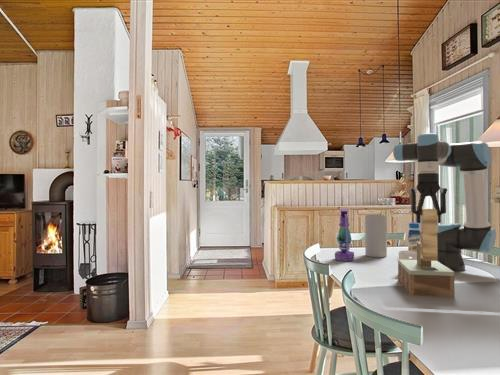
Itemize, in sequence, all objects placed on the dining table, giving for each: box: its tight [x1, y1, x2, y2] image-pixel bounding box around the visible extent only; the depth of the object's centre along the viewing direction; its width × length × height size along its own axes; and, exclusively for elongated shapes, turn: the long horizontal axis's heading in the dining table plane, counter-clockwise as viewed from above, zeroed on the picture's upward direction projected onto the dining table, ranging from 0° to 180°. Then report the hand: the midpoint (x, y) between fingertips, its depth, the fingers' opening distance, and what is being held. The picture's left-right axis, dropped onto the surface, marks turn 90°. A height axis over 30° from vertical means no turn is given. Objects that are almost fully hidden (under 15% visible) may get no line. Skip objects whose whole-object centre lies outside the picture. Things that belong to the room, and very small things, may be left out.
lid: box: [397, 242, 455, 277], centre depth 155 cm, size 22×16×10 cm
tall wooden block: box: [420, 208, 438, 261], centre depth 149 cm, size 5×5×20 cm
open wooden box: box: [397, 262, 455, 298], centre depth 155 cm, size 22×16×9 cm
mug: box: [398, 250, 417, 260], centre depth 181 cm, size 12×9×11 cm
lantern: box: [334, 208, 355, 262], centre depth 220 cm, size 13×12×30 cm
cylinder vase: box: [364, 214, 388, 259], centre depth 231 cm, size 12×12×25 cm
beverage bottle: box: [407, 222, 420, 252], centre depth 232 cm, size 8×8×20 cm
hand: (428, 231), depth 149 cm, fingers closed on tall wooden block, 5 cm apart
